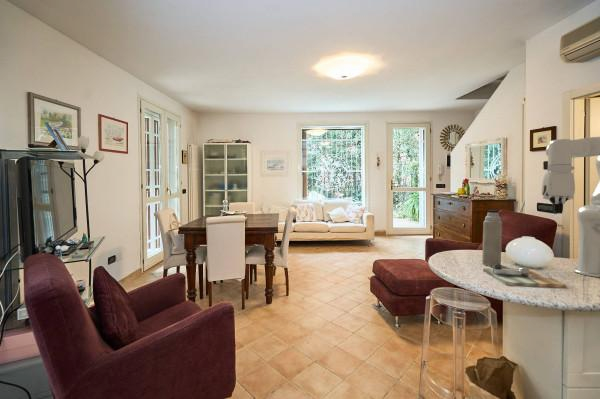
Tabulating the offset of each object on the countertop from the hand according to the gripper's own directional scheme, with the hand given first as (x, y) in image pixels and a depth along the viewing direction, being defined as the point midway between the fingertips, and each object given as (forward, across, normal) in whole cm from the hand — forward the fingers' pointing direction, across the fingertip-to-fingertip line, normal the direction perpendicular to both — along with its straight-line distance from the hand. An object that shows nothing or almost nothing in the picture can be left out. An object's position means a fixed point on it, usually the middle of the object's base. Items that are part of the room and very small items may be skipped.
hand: (557, 213), depth 125 cm
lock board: (+29, +12, -2) cm, 32 cm away
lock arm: (+28, +16, -2) cm, 32 cm away
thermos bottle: (+29, +14, -24) cm, 40 cm away
